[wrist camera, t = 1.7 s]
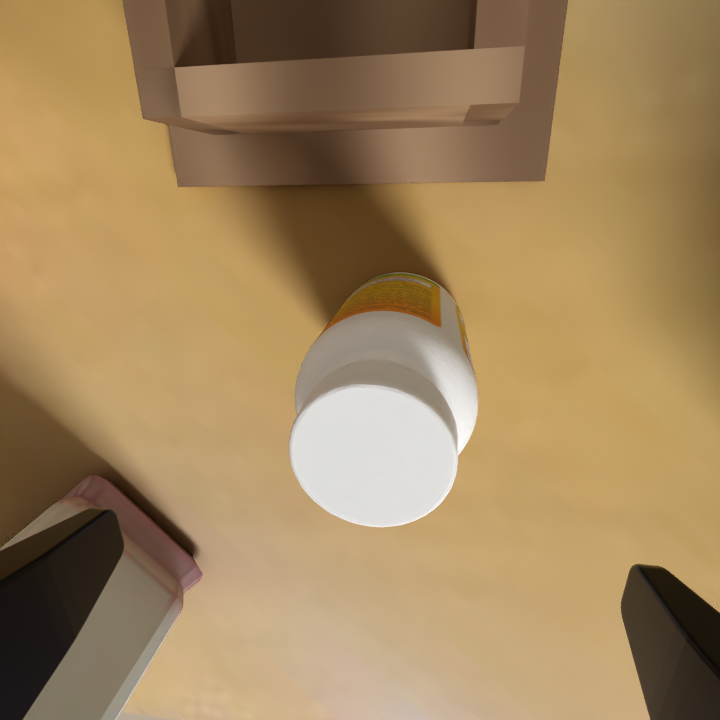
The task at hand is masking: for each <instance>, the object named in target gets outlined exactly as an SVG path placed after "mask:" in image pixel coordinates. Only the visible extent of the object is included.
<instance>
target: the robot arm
mask: <svg viewBox="0 0 720 720" xmlns="http://www.w3.org/2000/svg"><path fill="white" fill-rule="evenodd" d="M123 551H124V539H123V535H122V531H121V528H120V524H119V520H118V517H117V514H116V512H115V511H114V510H112V509H108V508H99V507H92V508H89V509H86V510H84V511H82V512H80V513H78V514H76V515H74V516H72V517H70V518H68V519H65V520H63V521H61V522H59V523H57V524H55V525H53V526H51V527H49V528H47V529H45V530H42V531H40V532H38V533H36V534H34V535H32V536H30V537H28V538H26V539H24V540H22V541H20V542H17V543H15V544H13V545H11V546H9V547H7V548H5V549H3V550H1V551H0V720H23V719H24V717H25V716H26V714H27V713H28V711H29V710H30V708H31V707H32V705H33V704H34V702H35V701H36V699H37V698H38V696H39V695H40V693H41V692H42V690H43V689H44V687H45V685H46V684H47V682H48V681H49V679H50V678H51V676H52V675H53V673H54V672H55V670H56V669H57V667H58V666H59V664H60V663H61V661H62V660H63V658H64V657H65V655H66V654H67V652H68V651H69V649H70V647H71V646H72V644H73V643H74V641H75V640H76V638H77V636H78V634H79V633H80V631H81V629H82V628H83V626H84V624H85V622H86V620H87V619H88V617H89V615H90V613H91V611H92V610H93V608H94V606H95V604H96V602H97V600H98V599H99V597H100V595H101V593H102V591H103V590H104V588H105V586H106V584H107V582H108V580H109V579H110V577H111V575H112V573H113V571H114V570H115V568H116V566H117V564H118V562H119V560H120V559H121V557H122V554H123ZM621 613H622V618H623V622H624V626H625V629H626V633H627V637H628V640H629V644H630V648H631V651H632V655H633V659H634V662H635V666H636V670H637V673H638V677H639V680H640V684H641V688H642V691H643V695H644V699H645V702H646V706H647V710H648V713H649V716H650V720H720V613H719V612H718V611H717V610H716V609H714V608H713V607H712V606H711V605H709V604H708V603H707V602H706V601H705V600H703V599H702V598H701V597H700V596H698V595H697V594H696V593H695V592H694V591H692V590H691V589H690V588H689V587H687V586H686V585H685V584H684V583H682V582H681V581H680V580H679V579H678V578H676V577H675V576H674V575H673V574H671V573H670V572H669V571H668V570H666V569H665V568H663V567H660V566H652V565H643V564H635V565H633V566H632V567H631V569H630V571H629V575H628V578H627V582H626V586H625V589H624V593H623V596H622V601H621Z"/></svg>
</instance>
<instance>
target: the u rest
mask: <svg viewBox="0 0 720 720" xmlns="http://www.w3.org/2000/svg"><path fill="white" fill-rule="evenodd" d="M567 3H568V0H123V5H124V11H125V17H126V23H127V29H128V35H129V40H130V46H131V52H132V58H133V64H134V69H135V75H136V81H137V87H138V93H139V98H140V104H141V110H142V116H143V119H146V120H151V121H155V122H159V123H163V124H168V125H169V132H170V138H171V145H172V151H173V158H174V164H175V171H176V177H177V184H178V187H203V186H265V185H326V184H387V183H448V182H509V181H545V173H546V166H547V158H548V150H549V142H550V135H551V127H552V119H553V111H554V104H555V96H556V88H557V80H558V73H559V65H560V57H561V50H562V42H563V34H564V26H565V19H566V11H567Z"/></svg>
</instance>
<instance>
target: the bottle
mask: <svg viewBox="0 0 720 720" xmlns="http://www.w3.org/2000/svg"><path fill="white" fill-rule="evenodd" d="M92 507H99V508H108V509H112V510H114V511H115V512H116V514H117V517H118V520H119V524H120V528H121V531H122V535H123V539H124V551H123V554H122V557H121V559H120V560H119V562H118V564H117V566H116V568H115V570H114V571H113V573H112V575H111V577H110V579H109V580H108V582H107V584H106V586H105V588H104V590H103V591H102V593H101V595H100V597H99V599H98V600H97V602H96V604H95V606H94V608H93V610H92V611H91V613H90V615H89V617H88V619H87V620H86V622H85V624H84V626H83V628H82V629H81V631H80V633H79V634H78V636H77V638H76V640H75V641H74V643H73V644H72V646H71V647H70V649H69V651H68V652H67V654H66V655H65V657H64V658H63V660H62V661H61V663H60V664H59V666H58V667H57V669H56V670H55V672H54V673H53V675H52V676H51V678H50V679H49V681H48V682H47V684H46V685H45V687H44V689H43V690H42V692H41V693H40V695H39V696H38V698H37V699H36V701H35V702H34V704H33V705H32V707H31V708H30V710H29V711H28V713H27V714H26V716H25V717H24V719H23V720H117V718H118V716H119V715H120V713H121V711H122V710H123V708H124V706H125V705H126V703H127V701H128V700H129V698H130V696H131V695H132V693H133V691H134V690H135V688H136V686H137V685H138V683H139V681H140V680H141V678H142V676H143V675H144V673H145V671H146V669H147V668H148V666H149V664H150V663H151V661H152V659H153V658H154V656H155V654H156V653H157V651H158V649H159V648H160V646H161V644H162V643H163V641H164V639H165V638H166V636H167V634H168V633H169V631H170V629H171V628H172V626H173V624H174V623H175V621H176V619H177V618H178V616H179V614H180V613H181V610H182V608H183V593H185V592H186V591H187V590H188V589H190V588H191V587H192V586H193V585H195V584H196V583H197V582H199V581H200V579H201V577H202V572H201V570H200V569H199V567H198V565H197V564H196V562H195V560H194V559H193V557H192V556H191V555H190V554H189V553H188V552H186V551H185V550H184V549H183V548H182V547H181V546H180V545H179V544H178V543H177V542H176V541H175V540H174V539H172V538H171V537H170V536H169V535H168V534H167V533H166V532H165V531H164V530H163V529H162V528H161V527H160V526H159V525H157V524H156V523H155V522H154V521H153V520H152V519H151V518H150V517H149V516H148V515H147V514H146V513H145V512H144V511H142V510H141V509H140V508H139V507H138V506H137V505H136V504H135V503H134V502H133V501H132V500H131V499H130V498H128V497H127V496H126V495H125V494H124V493H123V492H122V491H121V490H120V489H119V488H118V487H117V486H116V485H115V484H113V483H112V482H111V481H109V480H107V479H104V478H102V477H100V476H97V475H92V476H87V477H86V478H85V479H83V480H82V481H81V482H80V483H79V484H78V485H77V486H75V487H74V488H73V489H72V490H71V491H70V492H69V493H67V494H66V495H65V496H64V497H63V498H62V499H61V500H59V501H58V502H55V503H54V504H53V505H52V506H51V507H49V508H48V509H47V510H46V511H45V512H43V513H42V514H41V515H40V516H39V517H37V518H36V519H35V520H34V521H33V522H31V523H30V524H29V525H28V526H27V527H25V528H24V529H23V530H22V531H21V532H19V533H18V534H17V535H16V536H15V537H13V538H12V539H11V540H10V541H9V542H7V543H6V544H5V545H4V546H3V547H1V548H0V551H1V550H3V549H5V548H7V547H9V546H11V545H13V544H15V543H17V542H20V541H22V540H24V539H26V538H28V537H30V536H32V535H34V534H36V533H38V532H40V531H42V530H45V529H47V528H49V527H51V526H53V525H55V524H57V523H59V522H61V521H63V520H65V519H68V518H70V517H72V516H74V515H76V514H78V513H80V512H82V511H84V510H86V509H89V508H92Z"/></svg>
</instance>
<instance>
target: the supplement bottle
mask: <svg viewBox="0 0 720 720" xmlns="http://www.w3.org/2000/svg"><path fill="white" fill-rule="evenodd" d="M295 405H296V412H297V417H296V419H295V421H294V423H293V426H292V429H291V433H290V438H289V455H290V461H291V465H292V468H293V471H294V474H295V476H296V478H297V480H298V481H299V483H300V485H301V486H302V488H303V489H304V491H305V492H306V493H307V494H308V495H309V496H310V497H311V498H312V499H313V500H314V502H316V503H317V504H318V505H320V506H321V507H322V508H324V509H325V510H326V511H328V512H329V513H331V514H333V515H335V516H337V517H339V518H341V519H344V520H346V521H349V522H352V523H356V524H360V525H365V526H372V527H390V526H397V525H403V524H407V523H410V522H412V521H415V520H417V519H419V518H421V517H423V516H425V515H427V514H428V513H430V512H431V511H432V510H434V509H435V508H436V507H437V506H438V505H439V504H440V503H441V502H442V501H443V500H444V498H445V497H446V496H447V494H448V493H449V491H450V489H451V487H452V485H453V482H454V480H455V476H456V473H457V467H458V455H459V454H460V453H461V451H462V450H463V448H464V447H465V445H466V444H467V442H468V440H469V438H470V436H471V434H472V431H473V429H474V426H475V422H476V418H477V412H478V393H477V383H476V377H475V373H474V369H473V364H472V360H471V355H470V349H469V344H468V339H467V334H466V329H465V325H464V321H463V317H462V315H461V312H460V310H459V308H458V306H457V304H456V302H455V301H454V299H453V298H452V297H451V295H450V294H449V293H448V292H447V291H446V290H445V289H444V288H443V287H441V286H440V285H439V284H437V283H436V282H434V281H432V280H430V279H428V278H426V277H424V276H421V275H417V274H413V273H406V272H394V273H387V274H383V275H380V276H377V277H375V278H373V279H370V280H369V281H367V282H365V283H364V284H362V285H361V286H360V287H359V288H357V289H356V290H355V291H354V292H353V293H352V294H351V295H350V296H349V298H348V299H347V300H346V301H345V302H344V304H343V305H342V307H341V308H340V309H339V311H338V312H337V313H336V315H335V316H334V317H333V319H332V320H331V321H330V323H329V324H328V325H327V326H326V328H325V329H324V330H323V332H322V333H321V334H320V336H319V337H318V338H317V339H316V341H315V342H314V343H313V345H312V346H311V347H310V349H309V351H308V353H307V354H306V356H305V358H304V360H303V362H302V364H301V367H300V370H299V373H298V376H297V380H296V386H295Z"/></svg>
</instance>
